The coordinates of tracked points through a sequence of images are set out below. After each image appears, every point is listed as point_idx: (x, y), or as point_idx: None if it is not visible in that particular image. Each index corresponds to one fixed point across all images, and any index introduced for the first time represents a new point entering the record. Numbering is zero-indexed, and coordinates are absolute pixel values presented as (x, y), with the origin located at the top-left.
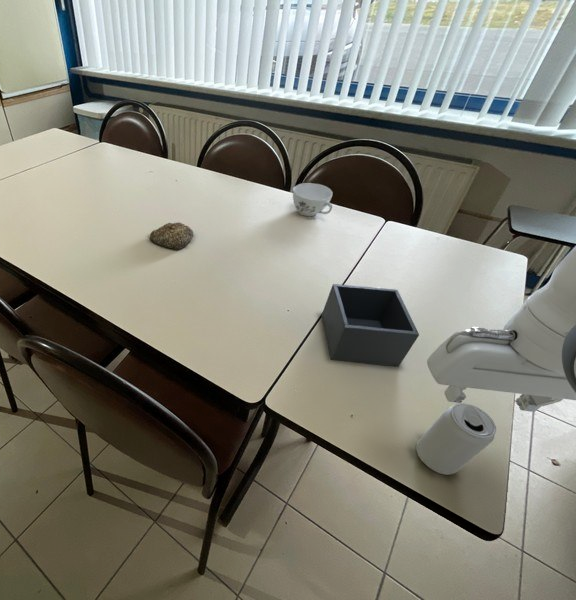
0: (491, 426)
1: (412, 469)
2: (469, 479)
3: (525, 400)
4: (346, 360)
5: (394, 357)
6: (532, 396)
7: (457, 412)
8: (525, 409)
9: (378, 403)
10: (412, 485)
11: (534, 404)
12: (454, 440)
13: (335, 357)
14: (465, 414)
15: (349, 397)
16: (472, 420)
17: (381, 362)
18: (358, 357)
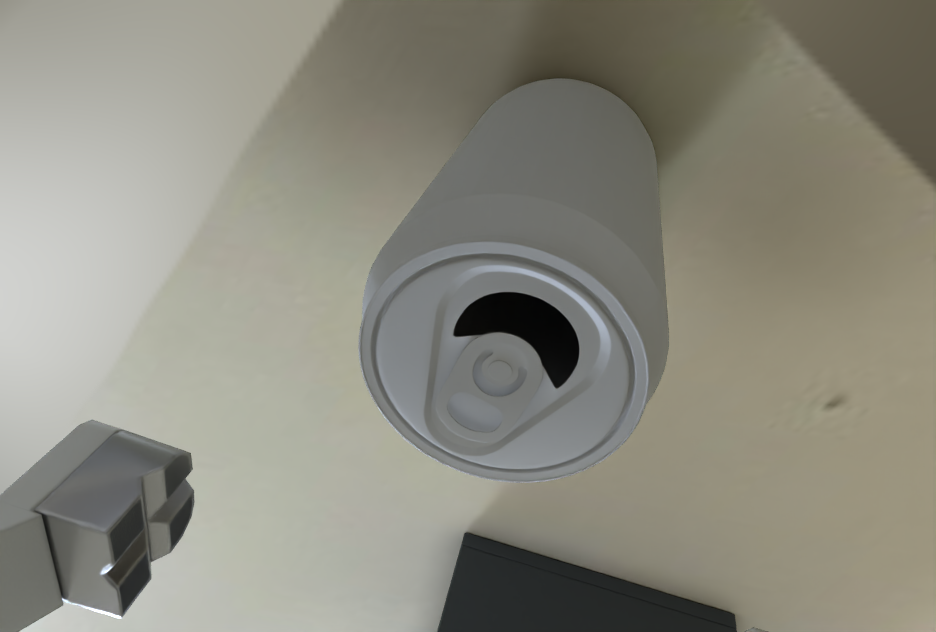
0: (395, 312)
1: (719, 125)
2: (459, 49)
3: (123, 554)
4: (672, 599)
5: (490, 590)
6: (44, 592)
7: (576, 438)
8: (155, 463)
9: (657, 427)
10: (784, 43)
11: (60, 527)
12: (650, 248)
13: (722, 625)
14: (522, 414)
15: (776, 473)
16: (506, 372)
17: (534, 567)
18: (631, 611)
